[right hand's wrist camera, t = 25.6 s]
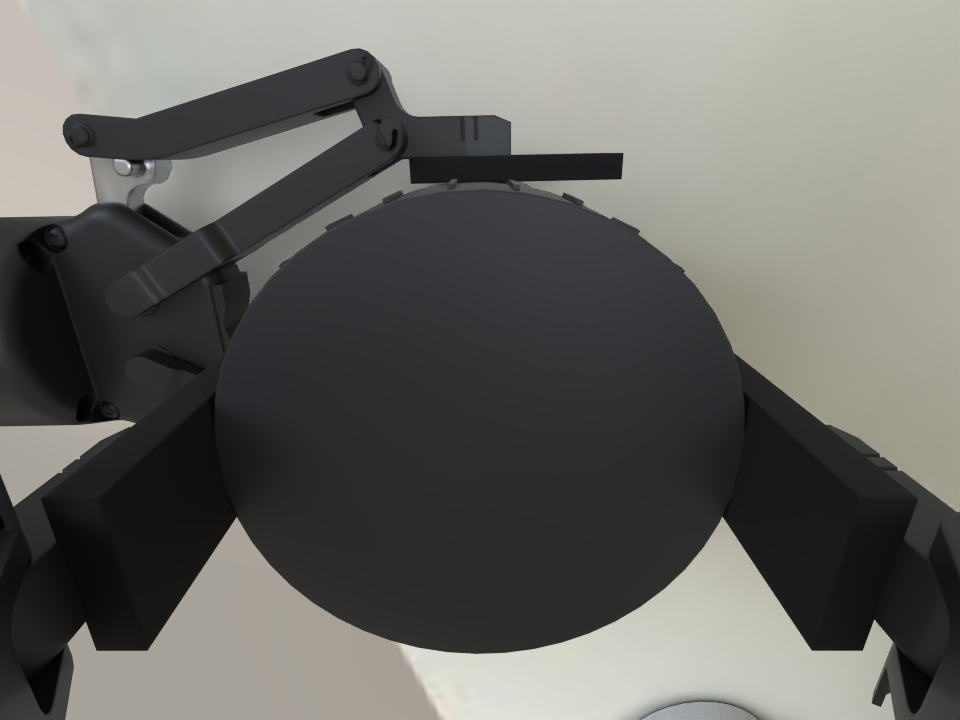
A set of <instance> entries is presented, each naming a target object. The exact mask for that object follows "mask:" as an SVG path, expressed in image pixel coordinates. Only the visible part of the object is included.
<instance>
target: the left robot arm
mask: <svg viewBox="0 0 960 720" xmlns="http://www.w3.org/2000/svg"><path fill="white" fill-rule="evenodd" d="M355 109H356V111H357V113H358V116H359V118H360V120H361V123H362V125H363V128H361V129H359V130H358V131H356V132H355V133H353V134H352V135H350V136H348V137H347V138H345V139H344V140H342V141H341V142H339V143H337V144H336V145H334V146H333V147H331V148H330V149H328V150H326V151H325V152H323V153H322V154H320V155H319V156H317V157H315V158H314V159H312V160H311V161H309V162H308V163H306V164H305V165H303V166H301V167H300V168H298V169H297V170H295V171H294V172H292V173H290V174H289V175H287V176H286V177H284V178H283V179H281V180H279V181H278V182H276V183H275V184H273V185H272V186H270V187H268V188H267V189H265V190H264V191H262V192H261V193H259V194H257V195H256V196H254V197H253V198H251V199H250V200H248V201H247V202H245V203H243V204H242V205H240V206H239V207H237V208H236V209H234V210H232V211H231V212H229V213H228V214H226V215H225V216H223V217H221V218H220V219H218V220H217V221H215V222H213V223H211V224H209V225H207V226H204V227H202V228H201V229H199V230H197V231H195V232H194V233H193V232H191V231H190V230H188V229H186V228H185V227H183V226H181V225H180V224H178V223H177V222H175V221H173V220H172V219H170V218H169V217H167V216H165V215H164V214H162V213H161V212H159V211H157V210H156V209H154V208H153V207H151V206H149V205H147V204H145V203H144V194H145V191H146V190H147V188H148V187H150V186H152V185H155V184H160V183H163V182H164V181H166V180H167V179H168V177H169V175H170V172H171V171H172V167H173V165H172V162H171V160H183V159H193V158H198V157H203V156H207V155H210V154H213V153H217V152H220V151H223V150H226V149H230V148H233V147H236V146H239V145H242V144H246V143H249V142H252V141H255V140H258V139H262V138H265V137H268V136H271V135H275V134H278V133H281V132H284V131H287V130H291V129H294V128H297V127H300V126H303V125H307V124H310V123H313V122H316V121H320V120H323V119H326V118H329V117H332V116H336V115H339V114H342V113H345V112H348V111H352V110H355ZM63 135H64V138H65V140H66V143H67V144H68V145H69V146H70V148H71V149H72V150H73V151H75V152H76V153H78V154H79V155H83V156H86V157H89V158H90V163H91V169H92V174H93V180H94V186H95V191H96V197H97V202H98V203H97V204H94V205H92V206H90V207H89V208H87V209H86V210H85V211H84V212H82V213H81V214H79V215H77V216H53V217H2V218H0V426H44V425H82V424H92V423H100V422H106V421H114V420H126V421H130V422H134V423H137V422H139V421H140V420H141V419H142V418H144V417H145V416H146V415H147V414H149V413H150V412H151V411H153V410H154V409H155V408H156V407H158V406H159V405H160V404H161V403H163V402H164V401H165V400H166V399H168V398H169V397H170V396H172V395H173V394H174V393H175V392H177V391H178V390H179V389H180V388H182V387H183V386H184V385H186V384H187V383H188V382H189V381H191V380H192V379H193V378H194V377H196V376H197V375H198V374H199V373H201V372H202V371H203V370H205V369H206V368H207V367H208V366H210V365H211V364H212V363H213V362H215V361H216V360H217V359H219V358H220V357H221V356H222V355H224V354H225V353H226V352H227V349H228V346H229V343H230V341H231V338H232V336H233V334H234V332H235V330H236V328H237V326H238V325H239V323H240V321H241V319H242V317H243V315H244V314H245V312H246V310H247V308H248V306H249V299H250V288H249V283H248V277H247V272H240V270H239V268H238V267H237V265H236V262H238V261H239V260H241V259H243V258H244V257H246V256H247V255H249V254H251V253H252V252H254V251H256V250H257V249H259V248H260V247H262V246H263V245H265V244H266V243H267V242H269V241H270V240H272V239H273V238H275V237H277V236H278V235H280V234H282V233H283V232H285V231H287V230H288V229H290V228H291V227H293V226H295V225H296V224H298V223H300V222H301V221H303V220H304V219H306V218H308V217H309V216H311V215H313V214H314V213H316V212H317V211H319V210H321V209H322V208H324V207H326V206H327V205H329V204H330V203H332V202H334V201H335V200H337V199H339V198H340V197H342V196H343V195H345V194H347V193H348V192H350V191H352V190H353V189H355V188H356V187H358V186H360V185H361V184H363V183H365V182H366V181H368V180H369V179H371V178H373V177H374V176H376V175H378V174H379V173H381V172H382V171H384V170H386V169H387V168H389V167H391V166H392V165H394V164H395V163H397V162H399V161H400V160H402V159H409V163H410V178H411V184H415V183H449V182H450V181H451V180H452V179H457V183H463V182H508V180H514V181H560V180H608V179H621V178H622V164H623V153H583V154H536V155H511V122H510V121H507V120H505V119H502V118H500V117H498V116H495V115H485V116H438V117H416V116H411V115H409V114H408V113H407V112H406V111H405V110H404V109H403V107H402V105H401V103H400V101H399V99H398V96H397V94H396V91H395V89H394V86H393V84H392V79H391V75H390V73H389V71H388V70H387V69H386V68H385V67H384V66H383V65H382V64H381V63H380V62H379V61H378V60H377V59H376V58H375V57H374V56H372V55H371V54H370V53H369V52H368V51H365V50H362V49H360V48H359V49H350V50H347V51H344V52H341V53H338V54H335V55H332V56H329V57H326V58H323V59H319V60H316V61H313V62H310V63H307V64H304V65H301V66H298V67H295V68H292V69H288V70H285V71H282V72H279V73H276V74H273V75H270V76H267V77H264V78H261V79H258V80H254V81H251V82H248V83H245V84H242V85H239V86H236V87H233V88H230V89H227V90H224V91H220V92H217V93H214V94H211V95H208V96H205V97H202V98H199V99H196V100H193V101H189V102H186V103H183V104H180V105H177V106H174V107H171V108H168V109H165V110H162V111H159V112H155V113H152V114H149V115H146V116H143V117H140V118H137V119H133V118H122V117H111V116H99V115H88V114H74V115H71V116H69V117H68V118H67V119H66V120H65V122H64V124H63Z"/></svg>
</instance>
